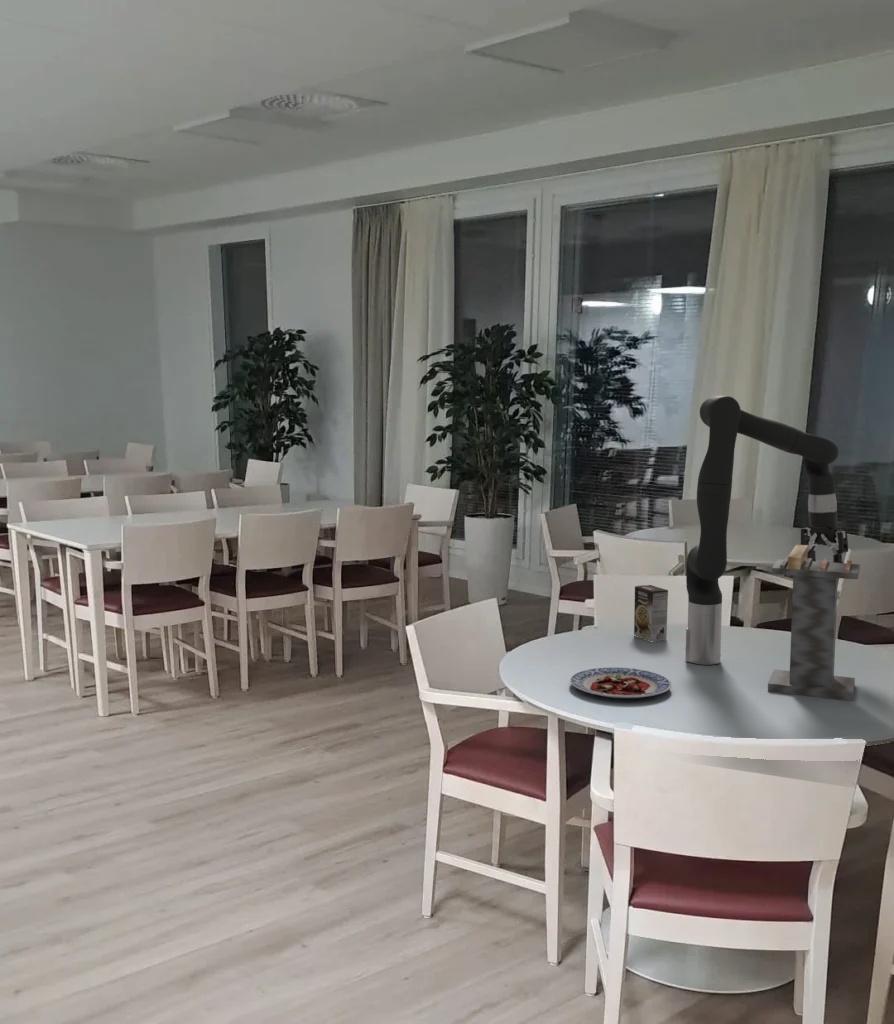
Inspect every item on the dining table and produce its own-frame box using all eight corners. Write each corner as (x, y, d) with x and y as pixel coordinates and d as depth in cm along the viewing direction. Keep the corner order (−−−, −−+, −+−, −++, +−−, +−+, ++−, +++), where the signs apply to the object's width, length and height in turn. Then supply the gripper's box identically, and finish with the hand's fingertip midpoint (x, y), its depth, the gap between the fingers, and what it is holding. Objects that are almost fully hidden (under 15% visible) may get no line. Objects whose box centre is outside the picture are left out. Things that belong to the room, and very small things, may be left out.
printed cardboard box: (632, 636, 301) (633, 586, 299) (649, 633, 304) (650, 584, 302) (650, 642, 293) (651, 591, 291) (667, 640, 296) (668, 589, 294)
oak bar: (787, 568, 238) (787, 557, 238) (795, 555, 258) (796, 544, 258) (800, 569, 237) (800, 557, 237) (807, 556, 257) (807, 545, 257)
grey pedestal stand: (767, 690, 244) (771, 564, 240) (773, 676, 256) (778, 556, 253) (852, 700, 235) (858, 570, 232) (854, 685, 248) (860, 561, 244)
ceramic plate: (672, 707, 232) (673, 695, 231) (566, 702, 237) (566, 690, 237) (669, 677, 257) (670, 666, 256) (573, 673, 262) (573, 662, 262)
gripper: (793, 509, 274) (795, 564, 276) (835, 512, 262) (837, 570, 264) (810, 506, 278) (812, 560, 280) (853, 509, 265) (854, 566, 267)
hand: (824, 565), depth 272 cm, fingers open, 8 cm apart
